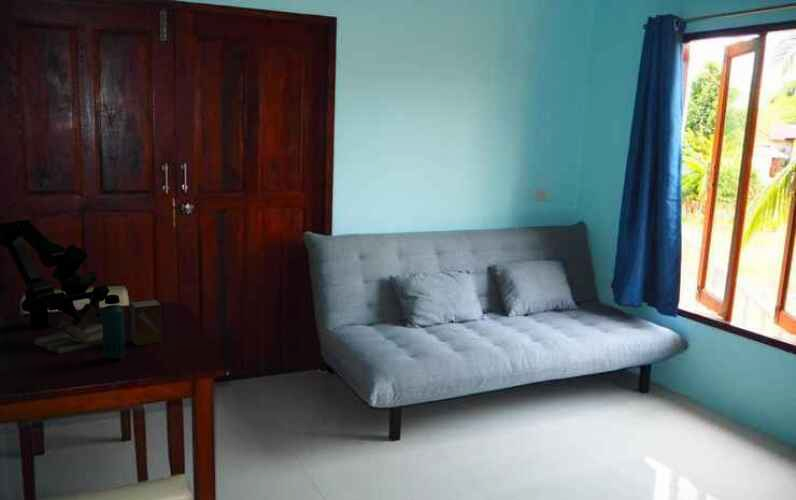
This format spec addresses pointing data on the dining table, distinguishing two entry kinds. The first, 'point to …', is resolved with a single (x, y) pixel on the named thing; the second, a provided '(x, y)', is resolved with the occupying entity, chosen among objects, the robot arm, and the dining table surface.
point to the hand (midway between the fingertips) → (89, 318)
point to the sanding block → (79, 324)
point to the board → (70, 340)
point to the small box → (146, 322)
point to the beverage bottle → (113, 328)
